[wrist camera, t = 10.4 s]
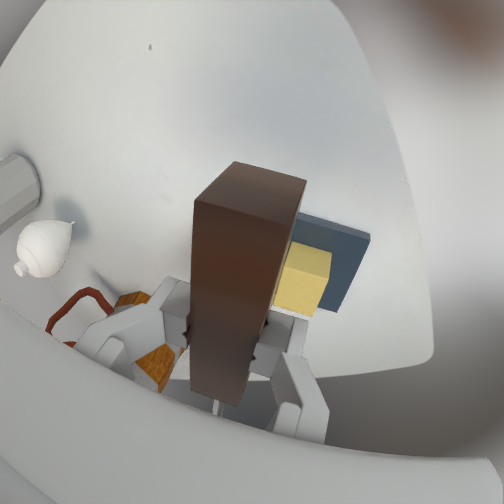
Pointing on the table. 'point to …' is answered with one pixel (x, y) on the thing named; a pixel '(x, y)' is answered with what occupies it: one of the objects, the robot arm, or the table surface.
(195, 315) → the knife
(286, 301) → the block
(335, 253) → the butter dish
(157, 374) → the mug
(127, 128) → the table surface
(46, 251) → the spinning top
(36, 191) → the jar
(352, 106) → the table surface
